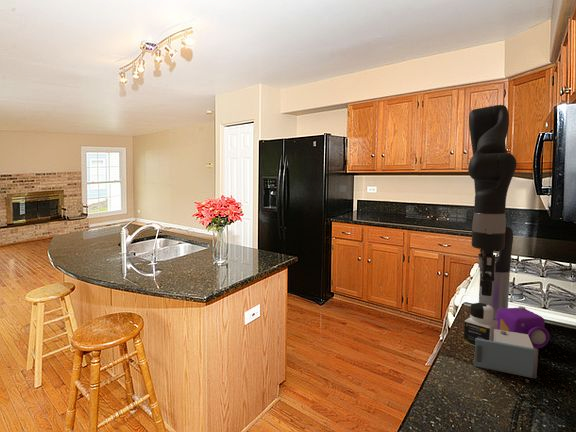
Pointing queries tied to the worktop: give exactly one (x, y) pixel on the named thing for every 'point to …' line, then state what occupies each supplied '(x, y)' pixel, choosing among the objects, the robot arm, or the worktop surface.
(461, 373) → the worktop surface
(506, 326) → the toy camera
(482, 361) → the case door
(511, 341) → the camera case
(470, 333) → the medicine bottle
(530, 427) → the worktop surface
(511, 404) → the worktop surface
